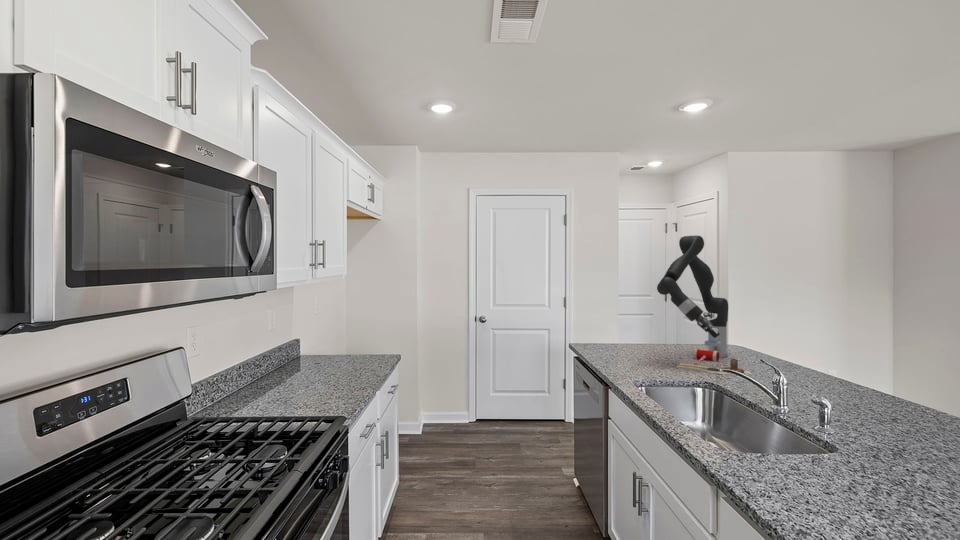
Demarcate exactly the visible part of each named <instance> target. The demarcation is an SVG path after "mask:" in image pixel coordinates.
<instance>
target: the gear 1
mask: <svg viewBox="0 0 960 540" xmlns="http://www.w3.org/2000/svg"><path fill="white" fill-rule="evenodd" d="M712 330H714V331H715V332H716V333H717V334H718V329H717V328H712ZM707 333H708V332H707ZM707 337H708V340H705V341H704V345H705V346H721V342H719V341H718V336H717V337H716V338H714V337H713V336H712V335H711V334H710V333H708V335H707Z"/></svg>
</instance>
